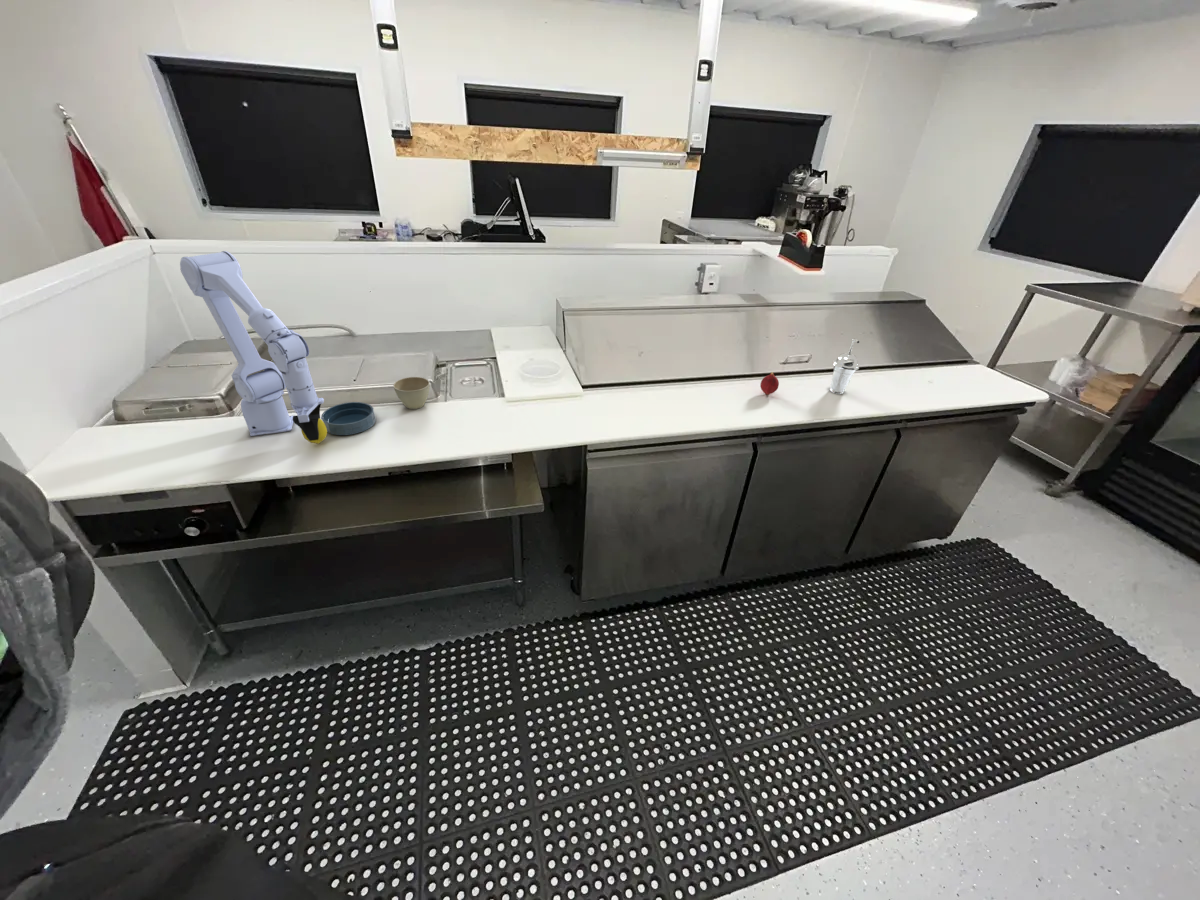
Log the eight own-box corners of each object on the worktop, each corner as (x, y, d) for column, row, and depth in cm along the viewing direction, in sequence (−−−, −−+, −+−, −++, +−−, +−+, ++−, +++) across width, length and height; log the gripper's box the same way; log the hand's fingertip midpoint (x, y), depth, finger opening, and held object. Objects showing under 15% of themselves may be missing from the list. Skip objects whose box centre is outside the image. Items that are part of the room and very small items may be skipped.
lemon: (335, 441, 127) (327, 414, 123) (316, 451, 123) (307, 423, 118) (320, 435, 129) (311, 409, 124) (301, 445, 124) (292, 418, 120)
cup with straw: (852, 391, 170) (873, 336, 159) (844, 399, 164) (864, 342, 153) (828, 383, 174) (846, 329, 164) (819, 391, 169) (837, 335, 158)
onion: (777, 398, 162) (784, 376, 158) (760, 398, 162) (766, 376, 157) (772, 391, 167) (778, 369, 162) (756, 390, 167) (761, 368, 162)
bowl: (323, 439, 128) (319, 428, 126) (326, 416, 138) (322, 405, 136) (376, 432, 132) (373, 420, 130) (375, 410, 142) (373, 399, 140)
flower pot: (422, 415, 141) (418, 393, 137) (390, 410, 142) (386, 388, 138) (438, 400, 149) (435, 378, 145) (408, 395, 151) (404, 374, 147)
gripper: (316, 396, 112) (331, 445, 120) (320, 371, 123) (333, 418, 131) (281, 400, 110) (298, 450, 117) (288, 374, 121) (304, 421, 128)
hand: (315, 433), depth 124 cm, fingers closed on lemon, 5 cm apart
